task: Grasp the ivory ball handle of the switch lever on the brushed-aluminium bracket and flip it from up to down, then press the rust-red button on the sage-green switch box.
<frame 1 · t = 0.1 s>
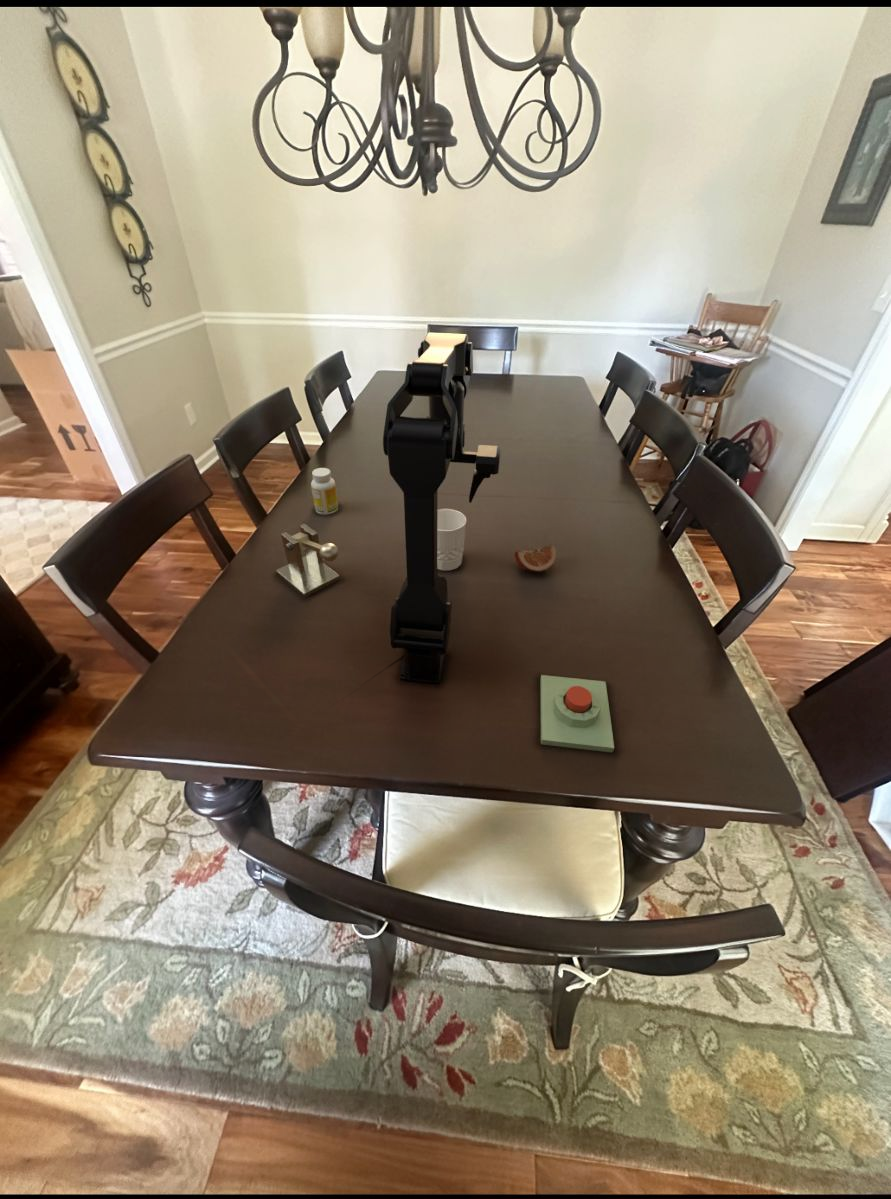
hand: (445, 499, 95), 15 cm above the table, tool pointing down, fingers open, 9 cm apart
button: (578, 699, 75), point 3 cm above the table, slide at 0.1 cm
lever: (314, 546, 92), point 10 cm above the table, hinge at 15.0°
switchbox: (574, 713, 77), on the table
supplement bottle: (327, 510, 120), on the table
fruit slice: (533, 569, 104), on the table
bracket: (308, 577, 101), on the table
white cup: (445, 561, 106), on the table
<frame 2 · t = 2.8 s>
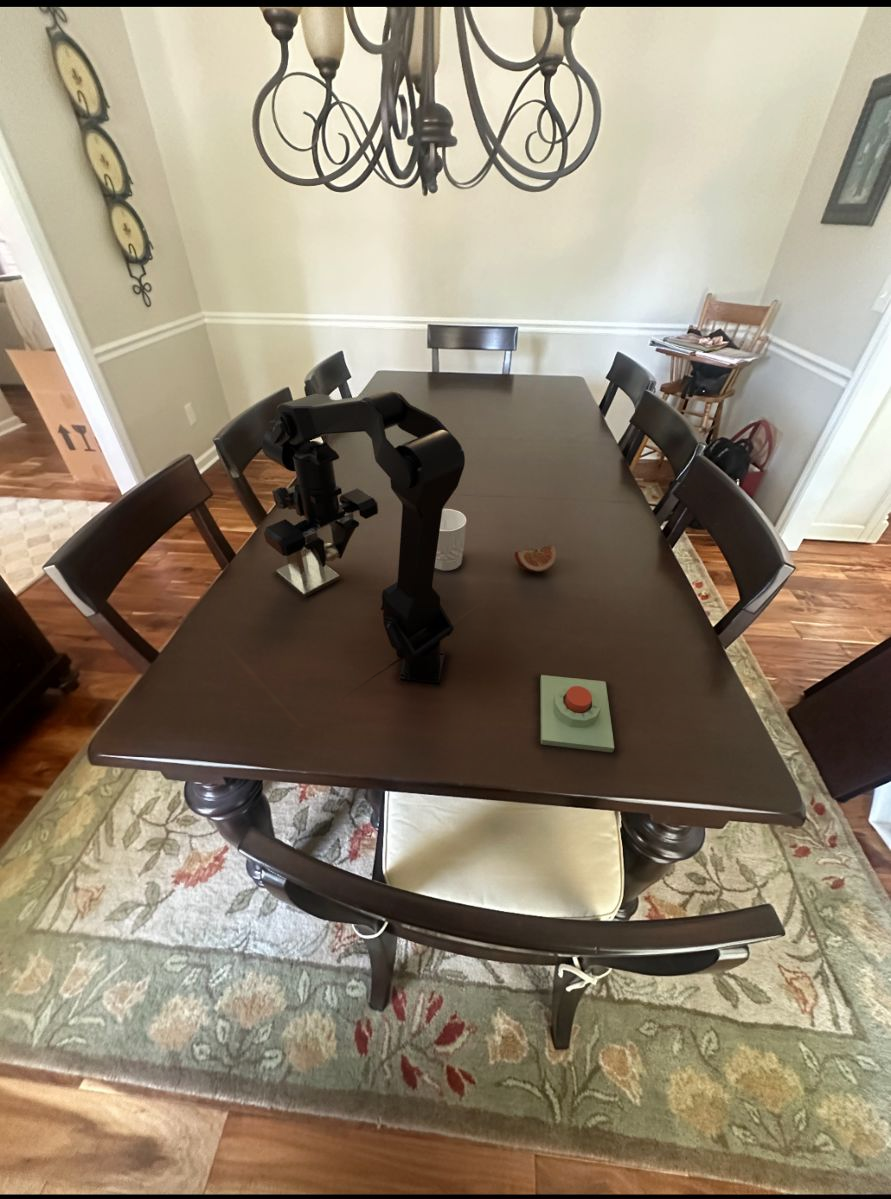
hand: (330, 561, 90), 9 cm above the table, tool pointing down, fingers closed on lever, 3 cm apart
lever: (314, 546, 92), point 10 cm above the table, hinge at 15.0°, touching gripper
everything else where it was.
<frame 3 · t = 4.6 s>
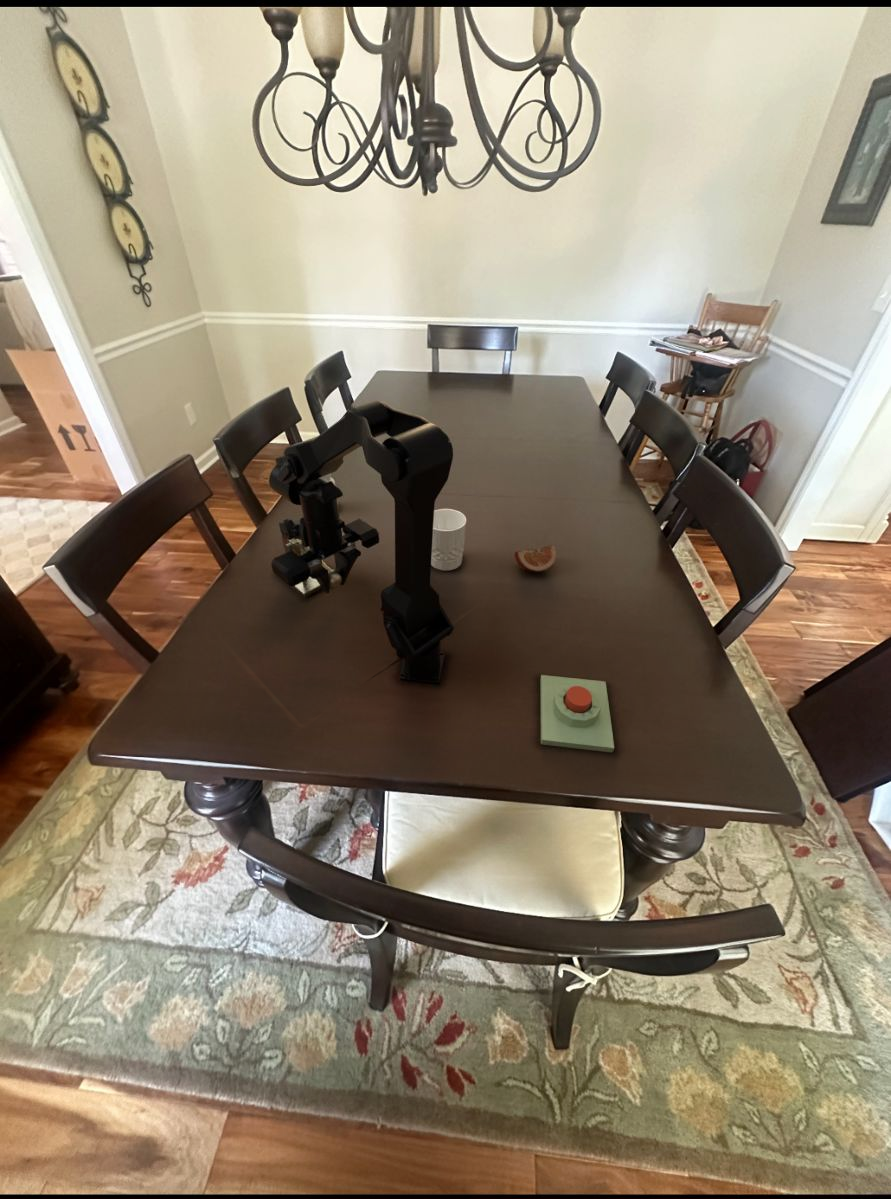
hand: (334, 587, 94), 3 cm above the table, tool pointing down, fingers closed on lever, 3 cm apart
lever: (317, 560, 94), point 7 cm above the table, hinge at -19.1°, touching gripper
everything else where it was.
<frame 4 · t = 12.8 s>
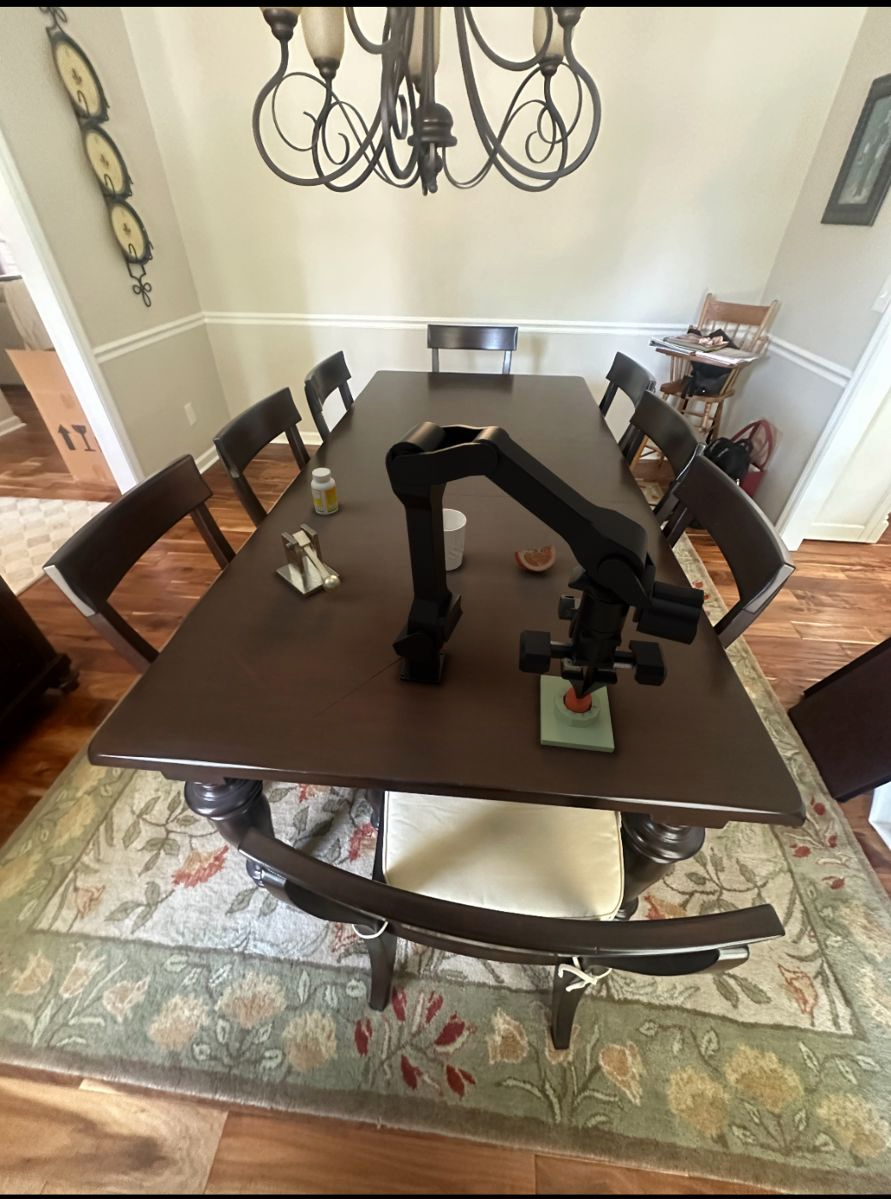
hand: (578, 695, 74), 4 cm above the table, tool pointing down, fingers closed, pressing on button
button: (578, 699, 75), point 3 cm above the table, slide at 0.0 cm, touching gripper
lever: (316, 563, 95), point 6 cm above the table, hinge at -30.5°
everything else where it was.
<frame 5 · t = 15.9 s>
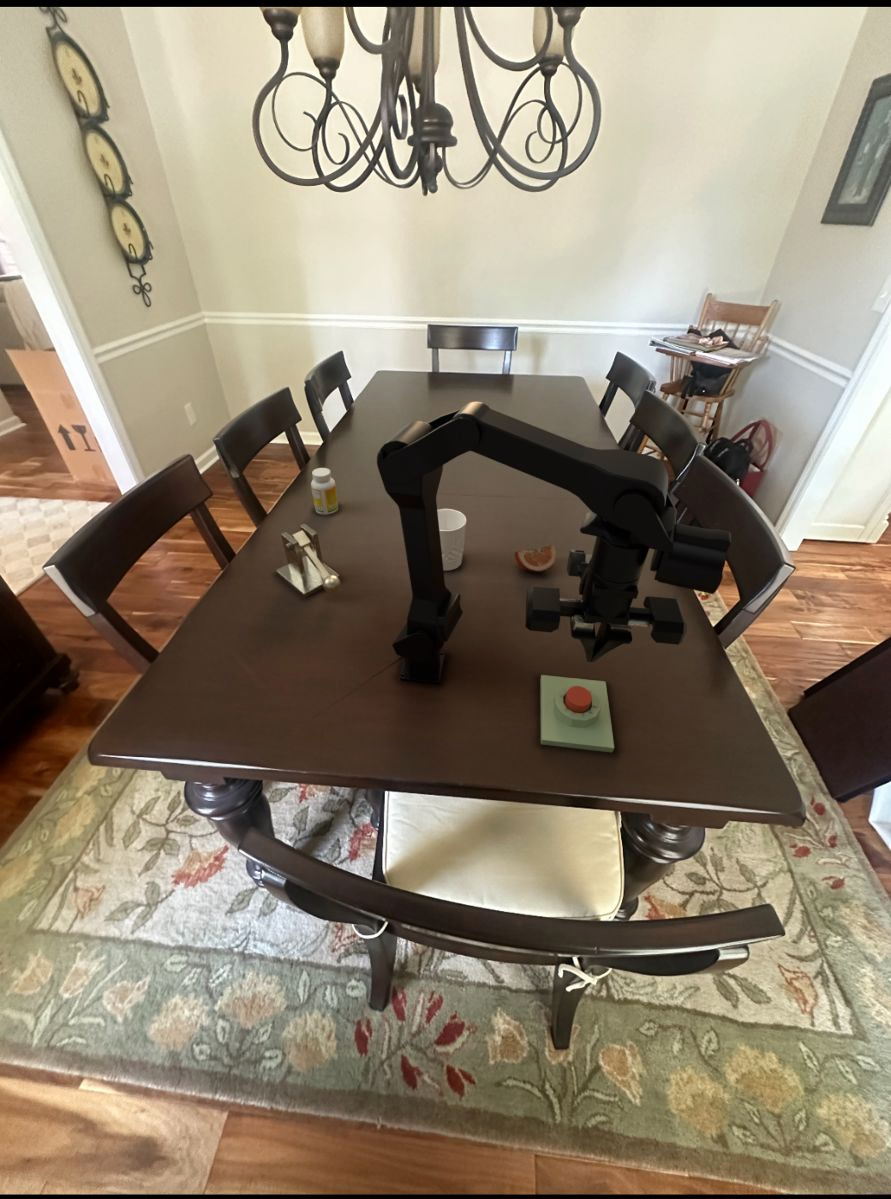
hand: (589, 659, 69), 12 cm above the table, tool pointing down, fingers closed
button: (578, 699, 75), point 3 cm above the table, slide at 0.1 cm
everything else where it was.
at the end: lever at -30° (first picture: +15°); button pushed in 1.1 cm at the most during the clip, back to where it started at the end; button slide at 0.1 cm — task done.
